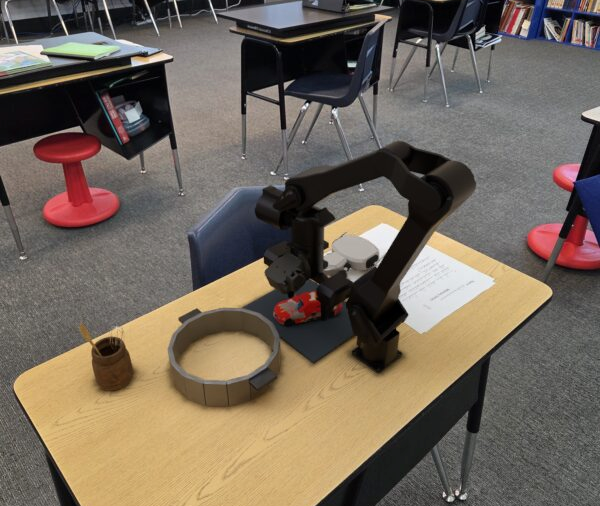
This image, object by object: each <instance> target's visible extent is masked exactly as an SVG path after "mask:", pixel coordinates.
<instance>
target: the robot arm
mask: <svg viewBox="0 0 600 506" xmlns="http://www.w3.org/2000/svg"><path fill="white" fill-rule="evenodd" d="M414 173H415V174H414ZM416 174H419V175H423V176H420V177H419V176H418V175H416ZM380 178H385V179H387V180H388V181H390V183H391V184H392V185H393V187H394V188H395V190H396V191H397V193H398V194H399V195H400V196H401V197H402V198H404V199H406V200H407V201H408V202H407V213H408V215H407V217H406V219H405V222H404V223H403V224H402V226H401V228H400V229H399V231H398V232H397V234H396V236H395V238H394V239H393V241H392V242H391V244H390V246H389V248H388V249H387V251H386V252H385V253H386V254H385V253H384V254H385V256H384V257H383V258H382V259H381V260H380V261H379V264H378V265H376V266H375V265H374V266H373V267H371V268H369V270H368V271H366V272H365V273H364V274H362V275H361V276H360V277H358V278H357V279H355V280H354V281H353V280H351V279H349V278H347V277H344V276H343V275H341V274H339V273H336V274H335V275H333V276H329V275H328V274H326V273H324V272H323V269H325V268H327V267H328V262H327V261H326V260H324V256H325V255H324V254H325V250H327V249H329V248H330V242H328V241H327V240H325V227H326V226H328V225H329V224H331V223H333V222H334V221H336V217H335V215H334V214H333V213H332V212H331V211H329V209H328V208H327V207H326V206H325V207H323V208H320V207H318V206H315V205H317V204H319V203H321V202H322V201H325V200H326V199H328V198H330V197H332V196H333V195H335V194H336V193H338V192H341V191H342V190H343V191H344V190H346V189H350V188H353V187H356V186H359V185H362V184H364V183H368V182H370V181H371V182H372V181H374V180H377V179H380ZM476 188H477V181H476V179H475V175H474V173H473V172H472V170H471V168H470V167H469V166H467V164H465V163H463V162H461V161H458V160H453V159H450V158H449V157H447V156H445V155H443V154H440V153H437V152H433V151H429V150H425V149H423V148H417V147H415V146H414V145H412V144H410V143H408V142H406V141H403V140H395V141H393V142H390V143H389V144H386V145H385V146H383V147H381V148H379V149H376V150H374V151H370V152H369V153H366V154H363V155H361V156H357V157H356V158H353V159H350V160H348V161H345V162H343V163H340V164H337V165H328V164H325V165H317V166H313V167H310V168H308V169H306V170H304V171H301V172H300V173H297V174H296V175H293V176H291V177H289V178H288V179H286V181H284V190H281V189H279V188H277V187H275V186H274V185H271V184H269V185H267V186H265V187H264V188H262V194H261V195H260V196H259V197H258V200H257V202H256V204H255V207H254V214H255V217H256V218H257V219H258V220H260V221H262V222H264V223H266V224H269V225H271V226H272V227H275V228H277V229H279V230H281V231H287V230H290V232H291V233H290V235H291V236H290V237H291V239H290V241H289V242H287V241H286V240H284V241H281V242H279V243H278V244H275V245H273V246H271V247H269V248H266V250H265V252H264V253H263V254H262V255H263V264H264V265H265V266H267V268H266V269H265V270H264V272H263V273H264V276H265V278H266V280H267V282H268V284H269V286H270V287H272V288H274V290H275V289H277V290H278V291H279V292H280V293H282V294H287V295H288V298H292V297H293V296H294V293H295V292H297V291H298V290H299V289H300V288H301V287H302V286H303V285H304V284H305V282H306V281H307V280H309V279H310V280H312V281H313V282H315V283H317V284H318V285H319V286H318V287H317V289H316V295H317V296H318V297H317V298H315V299H316V300H317V301H319V302H320V304H321V319H322V321H325V320H326V319H327V318H328V317H329V315H330V313H331V312H332V310H333V309H334V307H335V306H336V305H338V304H340V303H341V302H343V301H345V302H346V309H348V315H349V319H350V322H351V326H352V330H353V334H354V335H355V336H356V346H357V347H355V348H354V349H352V350H351V356H353V357H354V358H356V359H357V360H358V361H360V362H361V363H362V364H365V366H367V367H368V368H370V369H371V370H372V371H374V372H376V373H377V374H381V373H383V372H384V371H385V370H386V369H388V368H389V367H390V366H392V365H393V364H394V363H395V362H396V361H397V360H399V359H401V358H402V357H403V352H402V351H401V350H399V341H400V335H401V334H400V333H401V332H400V331H399V330H397V328H399V326H401V325H402V324H403V323H405V322H406V320H407V318H408V317H409V313H408V311H407V309H406V308H405V306H404V305H403V303H402V302H401V299H400V298H399V297H400V294H401V283H402V281H403V279H404V278H405V277H406V275H407V274H408V272H409V270H410V269H411V267H412V266H413V265H414V263H415V261H416V260H417V258H418V257H419V256H420V254H421V253H422V252H423V250H424V249H425V247H426V246H427V244H428V242H429V241H430V239H431V238H432V237H433V235H434V233H435V232H436V231H437V229H438V228H439V226H440V225H441V224H442V223H443V222H445V220H446V219H448V218H449V217H450V216H451V215H452V214H453V213H454V212H455V211H457V210H458V209H459V208H460V207H461V206H462V205H463V204H465V203H466V201H467V200H468V199H469V198H470V197H471V196H472V195H473V194H474V193H475V191H476Z"/></svg>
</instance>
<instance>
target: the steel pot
mask: <svg viewBox="0 0 600 506" xmlns="http://www.w3.org/2000/svg"><path fill="white" fill-rule="evenodd" d="M178 322H180V323H181V324H180V326H179V327H178V328H177V329H176V330H175V331H174V332H173V333H172V335H171V338H170V340H169V344H168V346H167V355H168V360H169V365H170V372H171V376H172V381H173V385H174V387H175V388H176V389H177V390H178V391H179V392H180V393H181V395H183V397H185V398H186V399H187V400H189V401H192V402H194V403H197V404H200V405H202V406H205V407H223V408H224V407H225V408H226V407H234V406H237V405H240V404H243V403H247V402H251V401H253V400H254V399H256V398H257V397H259V396H260V395H262V394H263V393H265V392H266V391H268V390H269V389H270V388H271V386H272V385H273V383H274V382H275V381H276V380H277V379H278V376H279V373H280V366H281V338H280V336H279V334H278V332H277V330H276V328H275V326H274V324H273V323H272V322H271V321H269V320H268V319H267V318H265V317H264V316H263V315H261V314H260V313H257V312H254V311H250V310H247V309H244V308H242V307H219V308H214V309H210V310H205V311H201V310H200V309H199V308H197V307H196V308H194V309H192V310H190V311H188V312H186V313H184V314H183V315H180V316H179V317H178ZM223 332H235V333H236V332H241V333H242V332H243V333H246V334H248V335H251V336H254V337H257V338H259V339H260V340H262V341H263V342H264V343H265V344H266V345H268V346H269V347H270V349H271V351H272V352H271V354H270V355H269V357H268V358H267V359H266V360H265V362H264V364H262V365H261V366H259V367H257V368H256V369H254V370H253V371H251V372H249V373H248V374H246V375H243V376H239V377H235V378H231V379H228V380H219V379H218V380H216V379H215V380H214V379H204V378H201V377H198V376H196V375H194V374H190V373H187V371H185V369H183V368H182V366H181V365H180V364H179V363H180V359H181V356H182V355H183V354H184V353H185V352H186V351H187V350H188V348H189V347H190V346H191V345H192V344H194V343H196V342H198V341H200V340H202V339H203V338H205V337H207V336H210V335H215V334H219V333H223Z"/></svg>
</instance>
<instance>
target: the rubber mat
mask: <svg viewBox="0 0 600 506" xmlns="http://www.w3.org/2000/svg"><path fill="white" fill-rule="evenodd" d="M318 286H319V284H318V283H316V282H315V281H313V280H312V279H309V280H307V281H306V282H305V284H304V285H303V286H302V287H301V288H300V289H299V290H298V291H297V292H295V293H294V296H293V297H292V298H294V297H295V294H296V296H298V295H300V294H303V293H307V292H313V291H316V289H317V287H318ZM288 299H291V298H288V295H287V294H282V293H280V292H279V291H278V290H277V289H275V288H274V289H273V290H271V291H269V292H267V293H266V294H264V295H263V296H260V297H258V298H256V299H255V300H253V301H251V302H248V303H247V304H245V305H244V306H241V308H244V309H247V310H250V311H254V312H257V313H260V314H261V315H263V316H264V317H265V318H267V319H268V320H269V321H271V322H272V323H273V324H274V326H275V328H276V330H277V332H278V334H279V336H280V340H282V341H284V342H285V344H287V345H288V346H290V347H291V348H293V350H295V351H296V352H298V353H299V354H300V355H301V356H303V357H304V358H305V359H307V360H308V361H309V362H310V363H312V364H316V363H317V362H318V361H320V360H321V359H323V358H324V357H325V356H327V355H328V354H330V353H332V352H333V351H334V350H336V349H337V348H339V347H340V346H342V345H343V344H345V343H346V342H348V341H349V340H350V339H352V338H354V337H355V336H356V335H354V334H353V330H352V326H351V322H350V319H349V315H348V309H346V302H347V301H346V300H345V301H343V302H341V303H342V311H341V312H340V313H339V314H337V315H335V314H334V315H333V317H331V318H327V319H326V320H325V321H322V319H316V320H311V321H306V322H301V323H295V322H294V324H293V325H292V326H286V325H285V323H284V325H283V324H280V323H278V322H277V321H276V320H275V318H274V316H273V311H274V308H275V307H276V305H277V304H278V303H279V302H282V301H285V300H288Z"/></svg>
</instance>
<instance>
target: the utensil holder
mask: <svg viewBox="0 0 600 506" xmlns="http://www.w3.org/2000/svg"><path fill="white" fill-rule="evenodd" d="M115 329H116V330H115ZM120 329H121V330H120ZM78 330H79V332H80V333H81V335H82V337H83V338H84V340H85V342H86V343H89V344H90V346H92V347H91V350H90V351H91V353H90V355H91V358H92V359H91V366H92V371H93V374H94V378H95V381H96V383H97V385H98V386H99V388H101V389H103V390H105V391H116V390H120V389H122V388H124V387H125V386H127V385H128V384H129V383H130V382H131V380H132V379H133V376H134V367H133V363H132V359H131V355H130V352H129V350H128V349H127V346H126V344H125V342H124V341H125V340H124V339H123V337H124V332H125V331H124V329H123V327H122V326H121V325H116V326H115V325H114V326H112V327H111V328H110V329H109V331H111V333H110V334H113V331H116V334H118V330H119V333H120V334H121V336H120V337H121V338H120V337H119V336H112V335H109V336H106V337H102V338H100V339H98V340H97V341H96V342H95V343H94V342H93V340H92V336H91V334H90V332H89V331H88V330H87V328H86V326H85V325H84V324H83V322H82V321H81V322H79V327H78Z"/></svg>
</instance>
